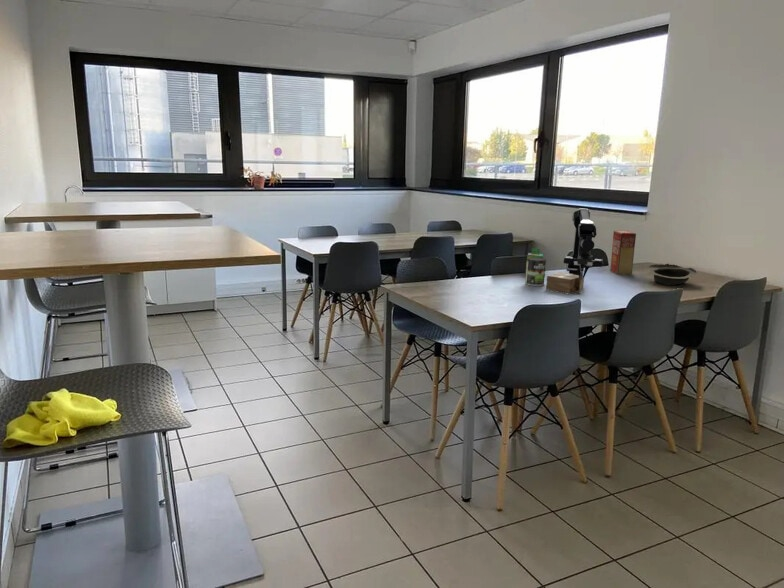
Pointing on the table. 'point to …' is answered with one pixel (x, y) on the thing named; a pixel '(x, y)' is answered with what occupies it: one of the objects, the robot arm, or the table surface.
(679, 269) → the stone bowl
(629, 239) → the food packaging
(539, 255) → the chalk box
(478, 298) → the table surface
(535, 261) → the coffee can
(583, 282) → the side flap
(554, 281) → the carton
